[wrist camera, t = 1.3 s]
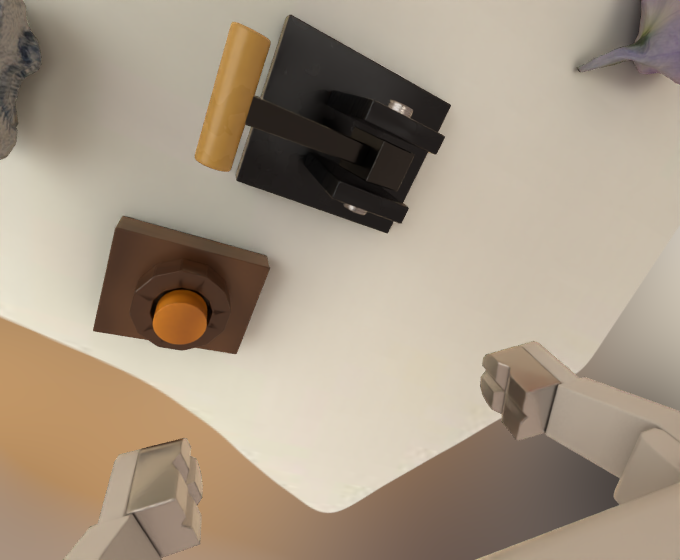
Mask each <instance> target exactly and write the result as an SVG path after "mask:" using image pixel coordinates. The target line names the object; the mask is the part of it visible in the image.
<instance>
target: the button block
mask: <svg viewBox="0 0 680 560" xmlns="http://www.w3.org/2000/svg"><path fill="white" fill-rule="evenodd" d="M269 270H270V267H269V263H268V259H267V256H266V255H262V254H259V253H255V252H251V251H248V250H244V249H241V248H237V247H233V246H230V245H226V244H223V243H219V242H215V241H212V240H208V239H205V238H201V237H197V236H194V235H190V234H186V233H183V232H179V231H176V230H172V229H168V228H165V227H161V226H158V225H154V224H150V223H147V222H143V221H140V220H136V219H132V218H129V217H125V216H122V218H121V219H120V221H119V223H118V224H117V226H116V228H115V232H114V236H113V241H112V245H111V250H110V255H109V259H108V264H107V269H106V273H105V278H104V282H103V287H102V292H101V296H100V301H99V305H98V310H97V315H96V319H95V324H94V328H93V331H95V332H102V333H108V334H114V335H120V336H127V337H133V338H139V339H145V340H149V341H150V342H152V343H153V344H155V345H156V346H158V347H163V348H169V349H175V350H182V351H183V350H187V349H191V348H201V349H207V350H213V351H220V352H226V353H232V354H237V352H238V349H239V347H240V344H241V341H242V339H243V336H244V334H245V331H246V329H247V326H248V323H249V321H250V318H251V316H252V313H253V311H254V308H255V305H256V303H257V300H258V298H259V295H260V293H261V290H262V287H263V285H264V282H265V280H266V277H267V275H268V272H269ZM181 289H183V290H190V291H193V292H195V293H197V294H198V295H200V296H201V297H202V298H203V299H204V301H205V302H206V305H207V327H206V330H205V332H204V334H203V335H202V336H201V337H200V338H199V339H197V340H195V341H194V342H191V343H188V344H172V343H168V342H166V341H164V340H162V339H161V338H160V337H159V336H158V335H157V334H156V333H155V331H154V328H153V318H154V314H155V310H156V306H157V303H158V301H159V300H160V298H161V297H162V296H163V295H165V294H166V293H168V292H171V291H174V290H181Z"/></svg>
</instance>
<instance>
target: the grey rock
mask: <svg viewBox="0 0 680 560" xmlns="http://www.w3.org/2000/svg"><path fill="white" fill-rule="evenodd" d="M40 65H41V52H40V48H39V44H38V41H37V39H36V37H35V36H34V35H33V33H32V32H31V31H30V27H29V25H28V22H27V17H26V6H25V3H24V1H23V0H0V160H1V159H4V158H6V157H7V156H8V155H9V154H10V152H11V151H12V149H13V147H14V146H15V144H16V141H17V128H16V127H17V125H18V118H17V113H16V108H15V103H16V98H17V96H18V89H19V88H20V86H21V83H22V81H23V79H24V78H25V77H27V76H28V75H30V74H31V73H34V72H35V71H37V70H38V69H39V66H40Z"/></svg>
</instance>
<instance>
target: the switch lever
mask: <svg viewBox="0 0 680 560" xmlns="http://www.w3.org/2000/svg"><path fill="white" fill-rule="evenodd" d="M269 47H270V40H269V39H268V38H266V37H265V36H263V35H262V34H260V33H258V32H256V31H254V30H252V29H250V28H248V27H246V26H244V25H242V24H240V23H237V22H232V23H231V26H230V30H229V33H228V37H227V40H226V44H225V48H224V51H223V55H222V59H221V62H220V66H219V69H218V73H217V77H216V80H215V84H214V87H213V91H212V95H211V98H210V102H209V105H208V109H207V113H206V116H205V120H204V123H203V127H202V131H201V134H200V138H199V142H198V145H197V149H196V152H195V159H196V160H197V161H198V162H199V163H201V164H203V165H205V166H207V167H209V168H212V169H215V170H219V171H224V172H229V171H230V170H231V168H232V165H233V161H234V158H235V155H236V152H237V149H238V145H239V142H240V139H241V136H242V133H243V130H244V126H245V125H248V126H251V127H253V128H256V129H259V130H262V131H264V132H267V133H270V134H273V135H275V136H278V137H281V138H284V139H287V140H289V141H292V142H295V143H298V144H300V145H303V146H306V147H309V148H311V149H314V150H317V151H320V152H323V153H325V154H328V155H331V156H334V157H336V158H339V159H341V160H340V163H339V166H340V167H342V168H344V169H345V170H347V171H349V172H350V173H352V174H354V175H356V176H357V177H359V178H361V179H362V180H364V181H366V182H369V183H372V184H375V185H378V186H381V187H384V188H387V189H391V190H394V191H398V189H399V187H400V185H401V183H402V180H403V178H404V176H405V174H406V172H407V170H408V168H409V166H410V164H411V162H412V160H413V158H414V156H415V155H414V154H413V153H411V152H409V151H407V150H405V149H403V148H400V147H398V146H396V145H394V144H392V143H390V142H388V141H386V140H383V139H381V138H379V137H377V136H375V135H373V134H371V133H369V132H366V131H364V130H362V129H360V128H358V127H354V129H353V131H352V134H351V136H348V135H345V134H343V133H341V132H338V131H336V130H334V129H331V128H329V127H327V126H325V125H322V124H320V123H318V122H315V121H313V120H311V119H308V118H306V117H304V116H302V115H299V114H297V113H295V112H292V111H290V110H288V109H285V108H283V107H281V106H278V105H276V104H274V103H272V102H269V101H267V100H265V99H262V98H260V97H258V96H255V92H256V88H257V85H258V82H259V79H260V76H261V73H262V69H263V66H264V63H265V60H266V57H267V54H268V50H269Z"/></svg>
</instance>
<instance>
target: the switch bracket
mask: <svg viewBox="0 0 680 560" xmlns="http://www.w3.org/2000/svg"><path fill="white" fill-rule="evenodd" d="M261 98H262V99H265V100H267V101H269V102H272V103H274V104H276V105H278V106H281V107H283V108H285V109H288V110H290V111H292V112H295V113H297V114H299V115H302V116H304V117H306V118H308V119H311V120H313V121H315V122H318V123H320V124H322V125H325V126H327V127H329V128H331V129H334V130H336V131H338V132H341V133H343V134H345V135H348V136H351V134H352V131H353V129H354V127H358V128H360V129H362V130H364V131H366V132H369V133H371V134H373V135H375V136H377V137H379V138H381V139H383V140H386V141H388V142H390V143H392V144H394V145H396V146H398V147H400V148H403V149H405V150H407V151H409V152H411V153H413V154H414V155H415V156H414V158H413V160H412V162H411V164H410V166H409V168H408V170H407V172H406V174H405V176H404V178H403V180H402V183H401V185H400V187H399V189H398V191H394V190H391V189H387V188H384V187H381V186H378V185H375V184H372V183H369V182H366V181H364V180H362V179H361V178H359V177H357V176H356V175H354V174H352V173H350V172H349V171H347V170H345V169H344V168H342V167H340V166H339V163H340V160H341V159H339V158H336V157H334V156H331V155H328V154H325V153H323V152H320V151H317V150H314V149H311V148H309V147H306V146H303V145H300V144H298V143H295V142H292V141H289V140H287V139H284V138H281V137H278V136H275V135H273V134H270V133H267V132H264V131H262V130H259V129H256V128H253V127H251V129H250V132H249V135H248V138H247V141H246V144H245V147H244V150H243V154H242V157H241V160H240V163H239V166H238V169H237V172H236V180H237V181H239V182H242V183H245V184H247V185H250V186H253V187H256V188H259V189H262V190H265V191H267V192H270V193H273V194H276V195H279V196H282V197H285V198H287V199H290V200H293V201H296V202H299V203H302V204H305V205H307V206H310V207H313V208H316V209H319V210H322V211H325V212H327V213H330V214H333V215H336V216H339V217H342V218H345V219H347V220H350V221H353V222H356V223H359V224H362V225H365V226H367V227H370V228H373V229H376V230H379V231H382V232H385V233H388V232H389V230H390V228H391V226H392V224H393V222H397V223H402V221H403V219H404V217H405V215H406V213H407V211H408V209H409V208H408V207H407V206H406V205H405V204H403V202H404V200H405V198H406V195H407V193H408V191H409V189H410V187H411V185H412V183H413V181H414V179H415V177H416V175H417V173H418V171H419V169H420V167H421V165H422V163H423V161H424V159H425V157H426V155H427V153H428V152H430V153H432V154H437V152H438V150H439V148H440V146H441V144H442V142H443V140H444V138H445V136H444V135H442V134H440V133H438V131H439V129H440V127H441V125H442V123H443V121H444V119H445V117H446V115H447V113H448V111H449V109H450V107H451V105H450V104H449V103H447V102H445V101H443V100H441V99H440V98H438V97H436V96H434V95H433V94H431V93H429V92H427V91H425V90H424V89H422V88H420V87H418V86H417V85H415V84H413V83H411V82H410V81H408V80H406V79H404V78H402V77H401V76H399V75H397V74H395V73H394V72H392V71H390V70H388V69H386V68H385V67H383V66H381V65H379V64H378V63H376V62H374V61H372V60H370V59H369V58H367V57H365V56H363V55H362V54H360V53H358V52H356V51H355V50H353V49H351V48H349V47H347V46H346V45H344V44H342V43H340V42H339V41H337V40H335V39H333V38H331V37H330V36H328V35H326V34H324V33H323V32H321V31H319V30H317V29H316V28H314V27H312V26H310V25H308V24H307V23H305V22H303V21H301V20H300V19H298V18H296V17H294V16H292V15H289V16H287V17H286V20H285V23H284V26H283V29H282V32H281V35H280V38H279V42H278V45H277V48H276V51H275V54H274V57H273V60H272V63H271V66H270V70H269V73H268V76H267V79H266V82H265V85H264V88H263V91H262V94H261Z"/></svg>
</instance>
